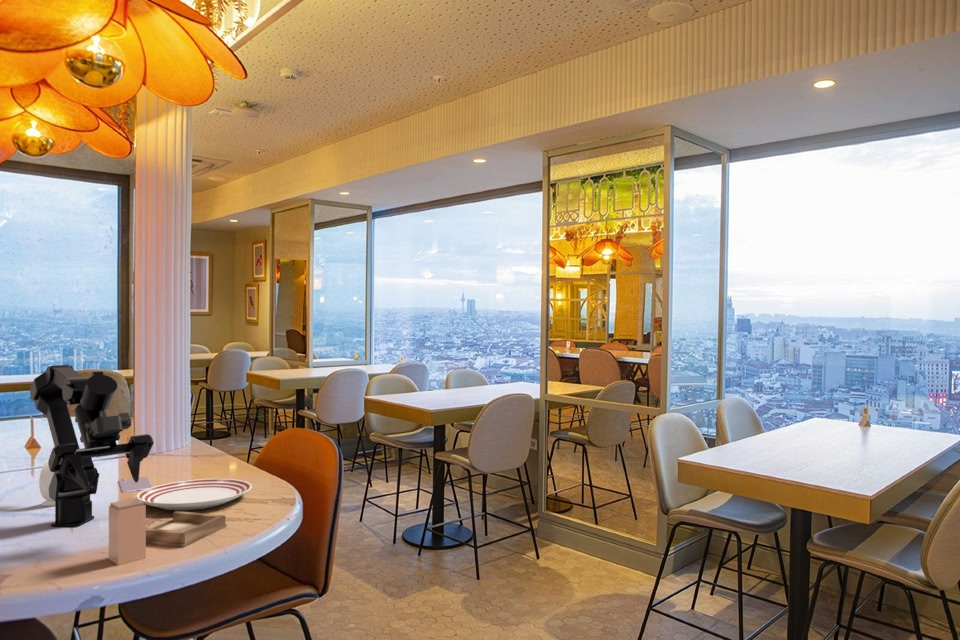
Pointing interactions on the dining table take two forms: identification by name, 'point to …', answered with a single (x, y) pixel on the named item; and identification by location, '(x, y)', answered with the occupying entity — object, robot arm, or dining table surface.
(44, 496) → the headphone stand
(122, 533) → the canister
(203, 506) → the dinner plate
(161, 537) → the square wooden tray
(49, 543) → the dining table surface
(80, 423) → the robot arm
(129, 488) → the mobile phone
